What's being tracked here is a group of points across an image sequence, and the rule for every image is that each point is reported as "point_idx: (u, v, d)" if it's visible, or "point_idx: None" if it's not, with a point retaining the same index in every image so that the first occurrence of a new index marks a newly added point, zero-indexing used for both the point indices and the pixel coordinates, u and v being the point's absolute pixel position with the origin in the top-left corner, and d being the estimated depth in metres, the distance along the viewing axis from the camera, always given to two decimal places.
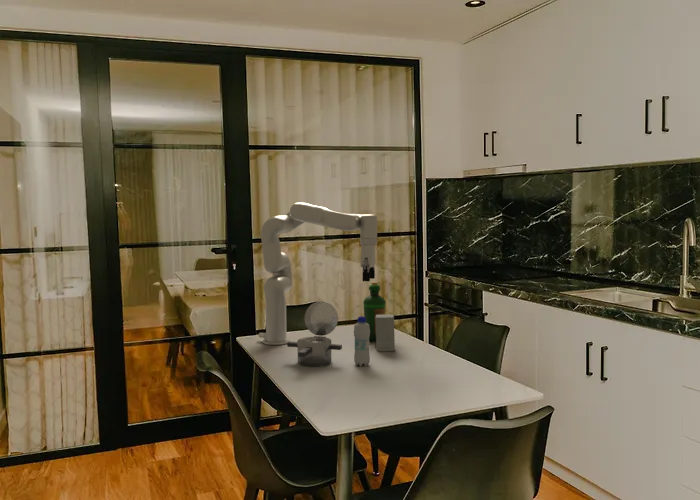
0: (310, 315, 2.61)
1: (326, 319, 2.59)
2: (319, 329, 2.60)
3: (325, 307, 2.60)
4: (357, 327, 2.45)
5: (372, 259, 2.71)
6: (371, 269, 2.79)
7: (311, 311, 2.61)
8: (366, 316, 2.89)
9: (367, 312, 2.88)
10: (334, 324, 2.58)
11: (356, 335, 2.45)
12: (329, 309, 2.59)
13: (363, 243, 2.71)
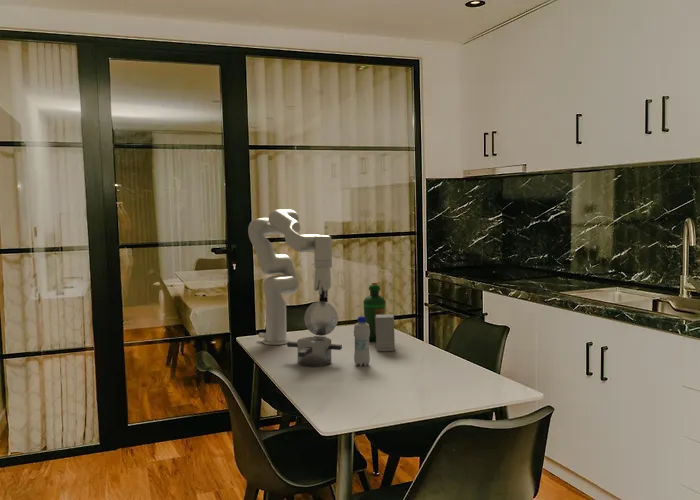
0: (310, 315, 2.61)
1: (326, 319, 2.59)
2: (319, 329, 2.59)
3: (325, 307, 2.59)
4: (357, 327, 2.45)
5: (326, 282, 2.59)
6: None
7: (311, 311, 2.61)
8: (366, 316, 2.89)
9: (367, 312, 2.88)
10: (334, 324, 2.58)
11: (356, 335, 2.45)
12: (329, 309, 2.59)
13: (317, 265, 2.59)
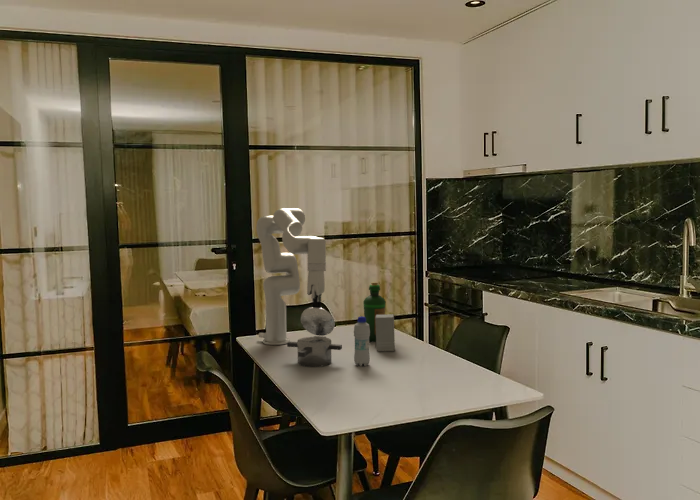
0: (306, 319, 2.56)
1: (323, 323, 2.55)
2: (318, 330, 2.58)
3: (319, 313, 2.52)
4: (357, 327, 2.45)
5: (320, 286, 2.51)
6: None
7: (306, 316, 2.55)
8: (366, 316, 2.89)
9: (367, 312, 2.88)
10: (332, 327, 2.55)
11: (356, 335, 2.45)
12: (324, 315, 2.52)
13: (310, 269, 2.50)
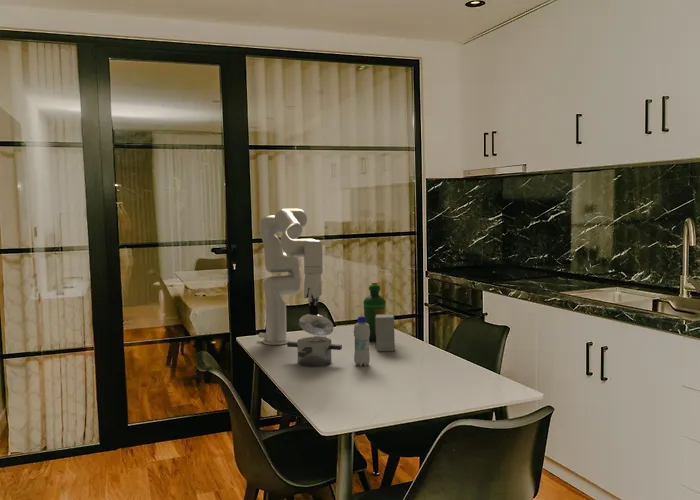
0: (304, 324, 2.54)
1: (321, 326, 2.53)
2: (317, 332, 2.57)
3: (317, 319, 2.50)
4: (357, 327, 2.45)
5: (317, 289, 2.47)
6: None
7: (304, 321, 2.53)
8: (366, 316, 2.89)
9: (367, 312, 2.88)
10: (331, 329, 2.54)
11: (356, 335, 2.45)
12: (322, 321, 2.50)
13: (307, 272, 2.46)
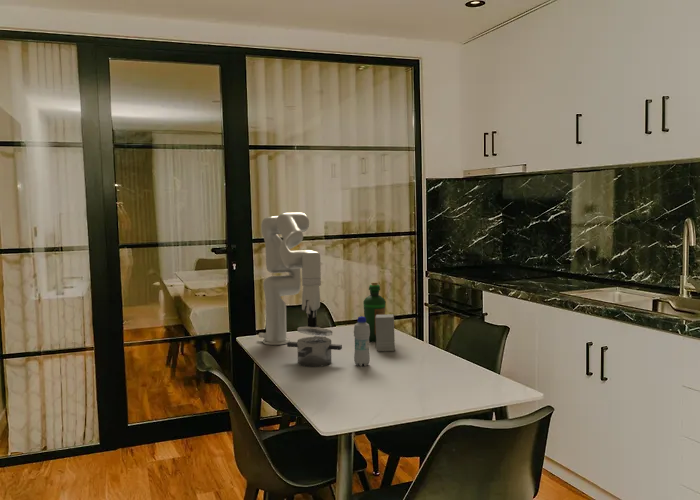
0: (303, 331, 2.52)
1: (320, 333, 2.52)
2: (317, 334, 2.57)
3: (315, 330, 2.47)
4: (357, 327, 2.45)
5: (315, 301, 2.44)
6: None
7: (303, 330, 2.51)
8: (366, 316, 2.89)
9: (367, 312, 2.88)
10: (330, 334, 2.53)
11: (356, 335, 2.45)
12: (320, 331, 2.48)
13: (305, 284, 2.44)
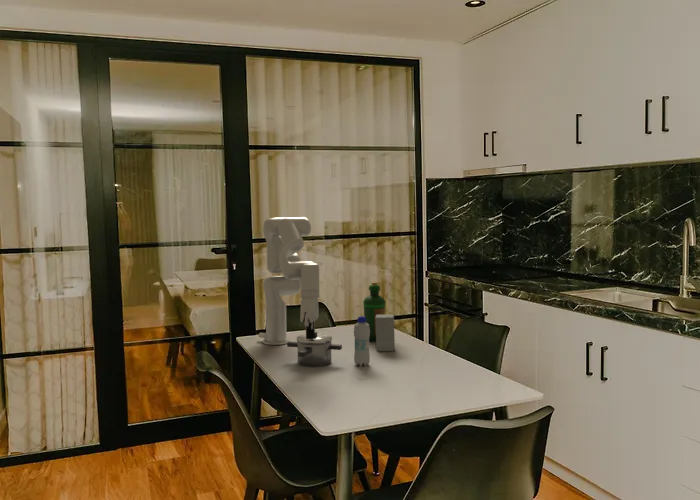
0: None
1: None
2: None
3: None
4: (357, 327, 2.45)
5: (313, 313, 2.43)
6: None
7: None
8: (366, 316, 2.89)
9: (367, 312, 2.88)
10: None
11: (356, 335, 2.45)
12: None
13: (303, 296, 2.43)
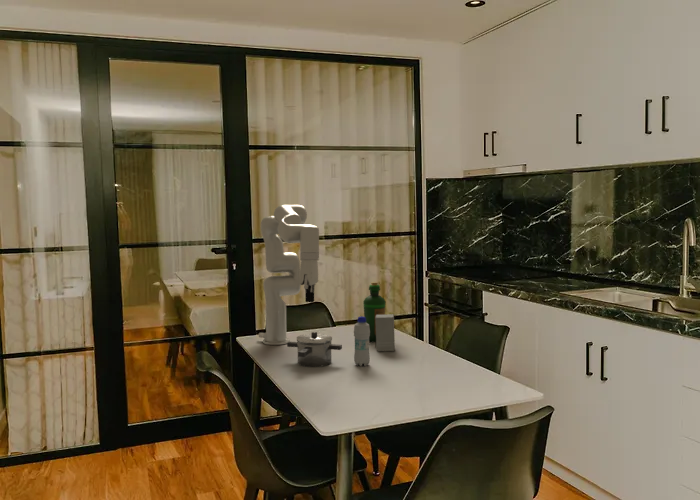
0: None
1: None
2: None
3: None
4: (357, 327, 2.45)
5: (313, 276, 2.42)
6: None
7: None
8: (366, 316, 2.89)
9: (367, 312, 2.88)
10: None
11: (356, 335, 2.45)
12: None
13: (303, 258, 2.42)
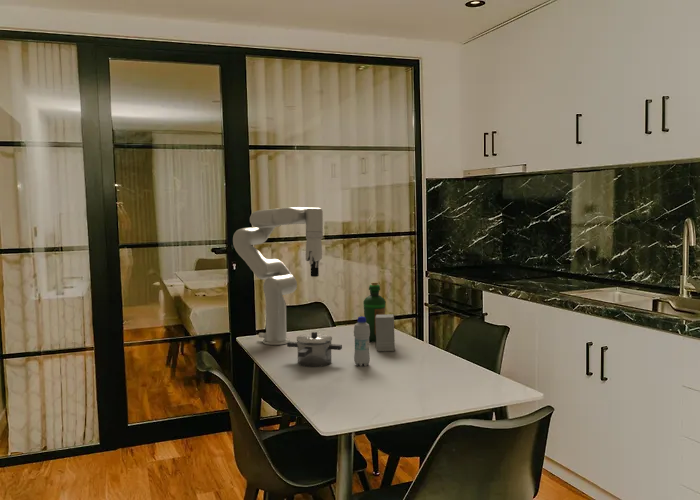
0: None
1: None
2: None
3: None
4: (357, 327, 2.45)
5: (317, 253, 2.69)
6: None
7: None
8: (366, 316, 2.89)
9: (367, 312, 2.88)
10: None
11: (356, 335, 2.45)
12: None
13: (308, 236, 2.69)
